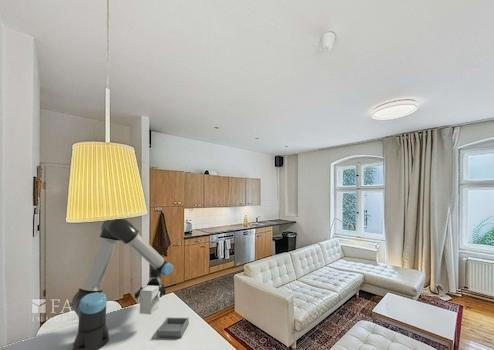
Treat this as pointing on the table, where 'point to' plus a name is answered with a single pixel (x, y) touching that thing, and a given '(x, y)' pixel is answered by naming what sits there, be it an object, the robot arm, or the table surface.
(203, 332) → the table surface
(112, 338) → the table surface
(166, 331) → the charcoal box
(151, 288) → the supplement box
